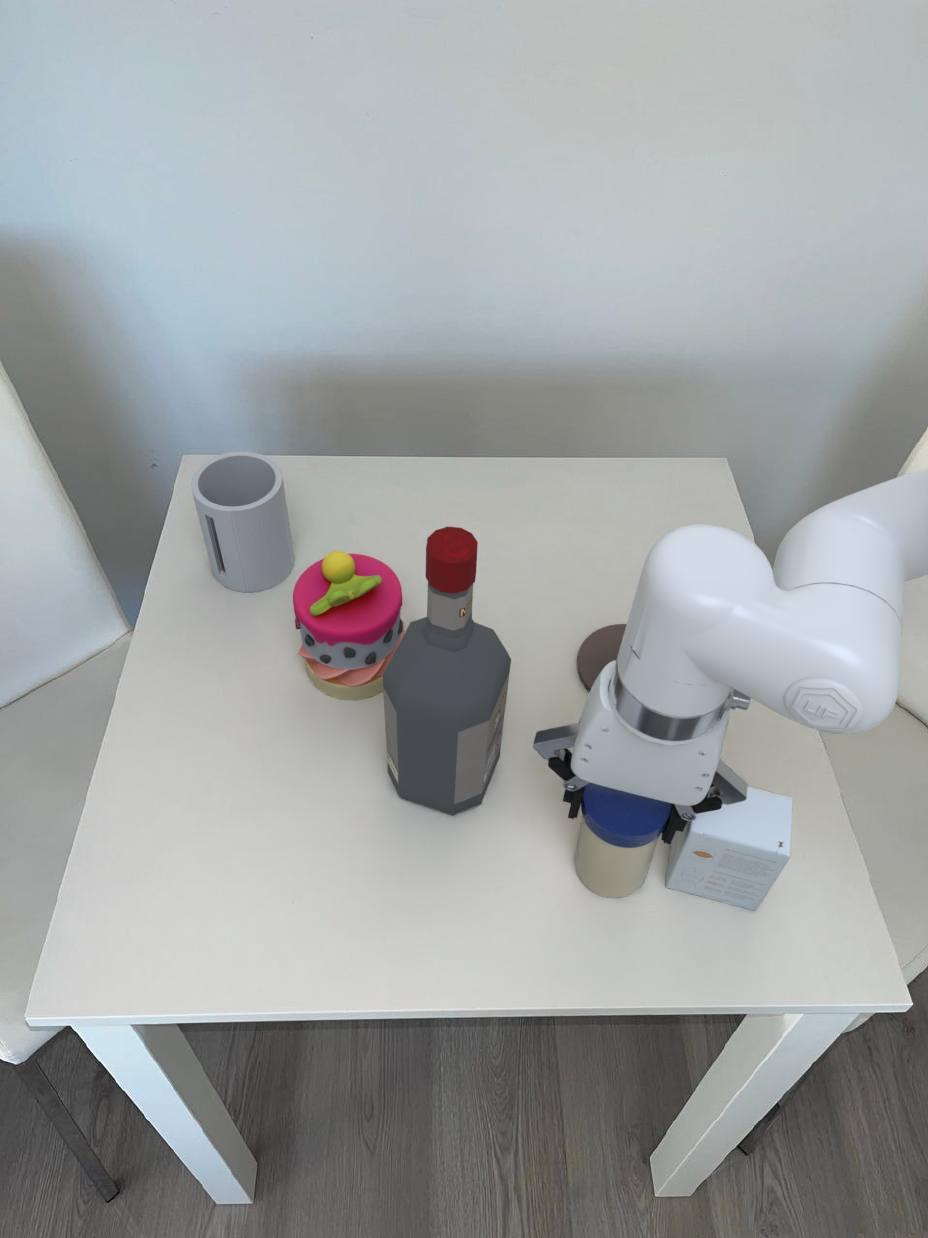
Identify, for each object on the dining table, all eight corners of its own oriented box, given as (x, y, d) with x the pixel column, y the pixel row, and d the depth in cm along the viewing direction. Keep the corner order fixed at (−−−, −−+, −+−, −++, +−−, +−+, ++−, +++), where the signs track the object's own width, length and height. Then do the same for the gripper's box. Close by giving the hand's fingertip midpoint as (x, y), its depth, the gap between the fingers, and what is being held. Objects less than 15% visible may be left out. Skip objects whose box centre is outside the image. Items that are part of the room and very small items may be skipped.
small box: (760, 855, 83) (796, 796, 75) (756, 913, 80) (793, 858, 72) (671, 832, 84) (697, 771, 76) (662, 888, 81) (689, 831, 73)
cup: (302, 537, 107) (291, 455, 98) (283, 596, 101) (270, 515, 92) (224, 529, 107) (205, 447, 98) (201, 587, 102) (179, 506, 92)
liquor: (505, 746, 90) (533, 519, 67) (473, 827, 84) (493, 609, 61) (416, 718, 92) (415, 487, 69) (379, 795, 86) (365, 571, 63)
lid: (674, 781, 76) (677, 770, 75) (663, 857, 72) (667, 846, 71) (589, 763, 78) (591, 751, 76) (573, 836, 73) (575, 825, 72)
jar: (653, 843, 83) (674, 777, 75) (639, 908, 79) (659, 846, 71) (584, 822, 85) (596, 755, 76) (566, 885, 81) (577, 822, 72)
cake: (281, 657, 96) (262, 555, 84) (362, 606, 101) (354, 503, 89) (344, 721, 91) (333, 622, 80) (426, 665, 96) (426, 564, 84)
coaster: (691, 643, 99) (693, 640, 98) (672, 725, 92) (674, 721, 92) (590, 616, 101) (591, 612, 100) (565, 694, 94) (565, 690, 94)
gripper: (802, 673, 63) (731, 802, 77) (551, 615, 66) (526, 751, 79) (798, 765, 59) (724, 885, 72) (529, 699, 61) (506, 828, 74)
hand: (621, 814), depth 76 cm, fingers closed on lid, 7 cm apart
